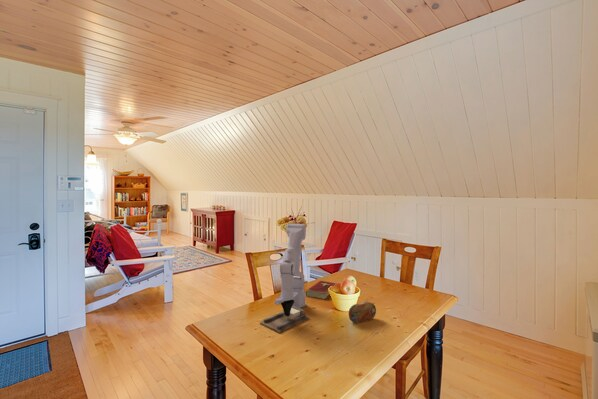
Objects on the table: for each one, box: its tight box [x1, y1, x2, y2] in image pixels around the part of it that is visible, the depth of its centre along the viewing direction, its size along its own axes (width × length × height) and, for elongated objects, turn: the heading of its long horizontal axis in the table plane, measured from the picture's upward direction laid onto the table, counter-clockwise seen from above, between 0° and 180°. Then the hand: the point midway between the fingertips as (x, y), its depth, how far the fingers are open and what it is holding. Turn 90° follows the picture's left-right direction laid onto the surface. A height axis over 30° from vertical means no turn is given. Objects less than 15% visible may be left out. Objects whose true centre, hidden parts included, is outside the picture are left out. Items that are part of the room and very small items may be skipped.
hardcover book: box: [305, 280, 338, 300], centre depth 178 cm, size 12×21×4 cm, turn 153°
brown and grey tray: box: [259, 306, 310, 334], centre depth 138 cm, size 20×13×4 cm, turn 138°
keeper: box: [284, 308, 300, 319], centre depth 142 cm, size 5×6×3 cm
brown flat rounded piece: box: [348, 301, 377, 325], centre depth 140 cm, size 15×3×8 cm, turn 117°
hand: (287, 315), depth 139 cm, fingers closed
